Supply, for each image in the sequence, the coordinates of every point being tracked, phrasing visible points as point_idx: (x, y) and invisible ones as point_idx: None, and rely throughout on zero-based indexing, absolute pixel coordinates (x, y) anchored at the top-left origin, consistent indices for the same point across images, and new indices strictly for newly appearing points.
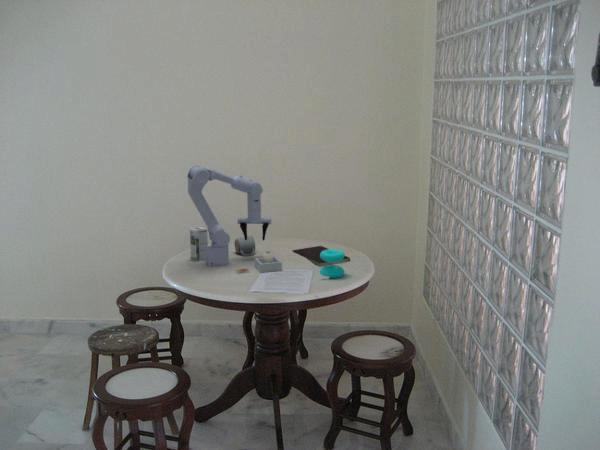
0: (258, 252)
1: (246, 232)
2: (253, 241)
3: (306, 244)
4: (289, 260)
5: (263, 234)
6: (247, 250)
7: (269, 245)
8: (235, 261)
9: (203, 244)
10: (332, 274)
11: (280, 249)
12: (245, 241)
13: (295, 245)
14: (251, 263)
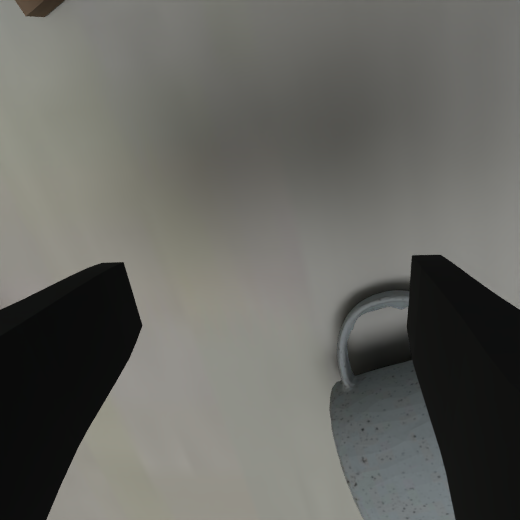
0: (314, 392)
1: (446, 416)
2: (348, 452)
3: (73, 513)
4: (9, 213)
5: (27, 310)
6: (400, 366)
7: (272, 512)
8: (507, 121)
9: None
10: None
11: (179, 446)
12: (437, 445)
13: (122, 503)
14: (312, 68)
